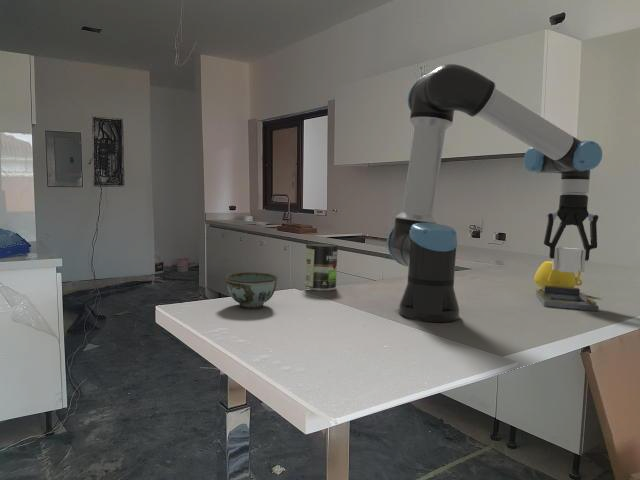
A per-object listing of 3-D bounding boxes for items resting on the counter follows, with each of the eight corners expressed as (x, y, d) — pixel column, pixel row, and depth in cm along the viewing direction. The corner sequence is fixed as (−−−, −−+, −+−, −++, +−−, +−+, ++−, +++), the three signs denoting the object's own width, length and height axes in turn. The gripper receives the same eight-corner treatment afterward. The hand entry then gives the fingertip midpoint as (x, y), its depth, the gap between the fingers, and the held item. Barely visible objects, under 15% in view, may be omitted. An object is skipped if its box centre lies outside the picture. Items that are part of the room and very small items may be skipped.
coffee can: (342, 287, 158) (343, 244, 157) (325, 292, 149) (327, 247, 148) (315, 283, 163) (317, 242, 162) (298, 288, 155) (299, 244, 153)
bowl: (256, 298, 137) (257, 270, 136) (287, 307, 127) (288, 277, 127) (214, 304, 127) (215, 274, 127) (245, 315, 118) (245, 282, 117)
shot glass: (583, 271, 146) (585, 248, 146) (576, 273, 141) (578, 249, 141) (559, 268, 151) (561, 246, 150) (552, 270, 146) (553, 247, 145)
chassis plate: (598, 311, 137) (599, 299, 136) (544, 306, 141) (545, 294, 140) (583, 299, 154) (584, 288, 153) (535, 294, 158) (536, 284, 158)
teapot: (581, 299, 154) (584, 263, 153) (531, 293, 161) (533, 259, 160) (581, 289, 171) (584, 257, 170) (535, 284, 178) (538, 253, 177)
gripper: (607, 195, 145) (601, 271, 147) (536, 193, 151) (530, 266, 153) (615, 195, 138) (607, 274, 140) (539, 193, 143) (534, 269, 146)
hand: (567, 270), depth 146 cm, fingers closed on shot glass, 7 cm apart
